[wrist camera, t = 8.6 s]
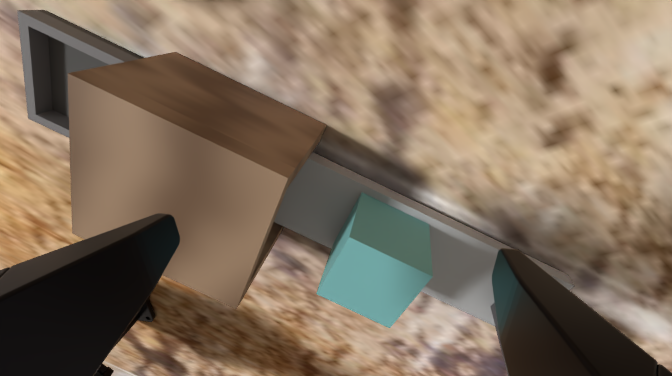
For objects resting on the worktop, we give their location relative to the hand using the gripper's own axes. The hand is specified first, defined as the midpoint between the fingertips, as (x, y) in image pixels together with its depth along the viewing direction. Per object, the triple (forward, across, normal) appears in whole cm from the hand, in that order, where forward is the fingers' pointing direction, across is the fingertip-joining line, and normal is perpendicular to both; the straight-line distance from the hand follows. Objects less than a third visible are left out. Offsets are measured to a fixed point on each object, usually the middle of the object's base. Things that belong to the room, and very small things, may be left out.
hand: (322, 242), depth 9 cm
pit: (+12, +18, -1) cm, 22 cm away
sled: (+12, -3, +8) cm, 15 cm away
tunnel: (+12, +9, +3) cm, 15 cm away
